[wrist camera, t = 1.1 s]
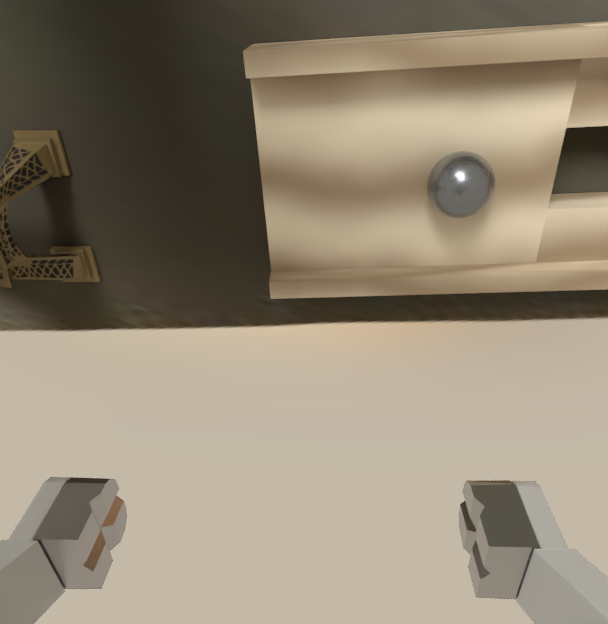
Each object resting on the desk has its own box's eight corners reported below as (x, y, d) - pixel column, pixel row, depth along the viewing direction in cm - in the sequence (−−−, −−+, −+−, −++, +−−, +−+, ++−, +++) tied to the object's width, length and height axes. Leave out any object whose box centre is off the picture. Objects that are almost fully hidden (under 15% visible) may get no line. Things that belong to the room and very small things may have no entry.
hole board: (253, 43, 27) (237, 53, 22) (734, 13, 25) (826, 17, 20) (276, 269, 34) (268, 311, 30) (645, 257, 33) (697, 300, 28)
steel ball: (424, 145, 27) (436, 163, 24) (489, 142, 27) (509, 160, 24) (419, 205, 29) (430, 229, 26) (480, 203, 28) (497, 227, 26)
